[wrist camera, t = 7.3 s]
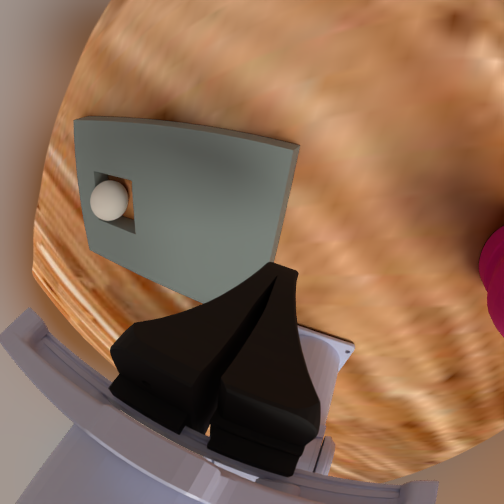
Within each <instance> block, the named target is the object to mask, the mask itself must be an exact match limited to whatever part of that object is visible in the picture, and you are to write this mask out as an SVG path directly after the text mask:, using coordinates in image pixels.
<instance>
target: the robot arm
mask: <svg viewBox="0 0 504 504" xmlns="http://www.w3.org/2000/svg"><path fill="white" fill-rule="evenodd" d="M297 277H298V272H297V271H296V270H293V269H290V268H287V267H285V266H282V265H279V264H276V263H273V262H268V263H266V264H265V265H264V266H263V267H262V268H260V269H259V270H258V271H257V272H256V273H254V274H253V275H252V276H250V277H249V278H247V279H246V280H245V281H243V282H242V283H240V284H239V285H237V286H236V287H234V288H232V289H231V290H229V291H227V292H226V293H224V294H222V295H220V296H219V297H217V298H215V299H213V300H211V301H209V302H206V303H204V304H202V305H199V306H197V307H195V308H192V309H189V310H187V311H184V312H181V313H177V314H174V315H170V316H167V317H163V318H159V319H154V320H148V321H143V322H136V323H134V324H133V325H132V326H130V327H129V328H128V329H127V330H126V331H125V332H124V333H123V334H122V335H121V336H120V337H119V338H118V340H117V341H116V342H115V343H114V344H113V345H112V346H111V348H110V353H111V357H112V359H113V361H114V363H115V366H116V368H117V370H118V372H119V375H118V377H117V378H116V379H115V380H114V381H113V383H112V382H111V381H109V380H108V379H107V378H105V377H104V376H102V375H101V374H100V373H98V372H97V371H96V370H94V369H93V368H92V367H90V366H89V365H88V364H86V363H85V362H84V361H83V360H81V359H80V358H79V357H78V356H76V355H75V354H74V353H73V352H72V351H70V350H69V349H68V348H67V347H66V346H64V345H63V344H62V343H61V342H60V341H59V340H58V339H56V338H55V337H54V336H53V335H52V334H51V333H50V332H49V331H48V328H47V326H46V325H45V323H44V321H43V320H42V319H41V318H40V317H39V316H38V315H37V314H36V313H35V312H34V311H33V310H32V309H31V308H28V309H27V310H25V311H24V312H23V313H22V314H21V315H20V316H19V317H18V318H17V319H16V320H15V321H14V322H13V323H11V324H10V325H9V326H8V327H7V328H6V329H5V330H4V331H3V332H2V333H1V334H0V343H1V344H2V346H3V347H4V348H5V350H6V351H7V352H8V354H9V355H10V356H11V357H12V359H13V360H14V361H15V363H16V364H17V365H18V366H19V367H20V369H21V370H22V371H23V372H24V373H25V375H26V376H27V377H28V378H29V379H30V380H31V381H32V382H33V384H34V385H35V386H36V387H37V388H38V389H39V390H40V391H41V392H42V393H43V394H44V395H45V396H46V397H47V398H48V399H49V400H50V401H51V402H52V403H53V404H54V405H55V406H56V407H57V408H58V409H59V410H60V411H61V412H62V413H63V414H64V415H66V416H67V417H68V418H69V419H70V420H71V421H72V422H74V425H73V426H72V428H71V429H70V430H69V431H68V432H67V434H66V435H65V436H64V438H63V439H62V440H61V442H60V443H59V445H58V446H57V447H56V448H55V450H54V451H53V452H52V453H51V455H50V456H49V458H48V459H47V460H46V462H45V463H44V464H43V466H42V467H41V468H40V470H39V471H38V472H37V474H36V475H35V477H34V478H33V479H32V481H31V482H30V484H29V485H28V486H27V488H26V489H25V491H24V492H23V494H22V495H21V496H20V498H19V499H18V500H17V502H16V503H15V504H435V502H436V497H437V490H438V483H439V482H438V481H421V480H420V481H411V482H407V483H405V484H403V485H392V484H380V483H370V482H362V481H355V480H349V479H343V478H337V477H332V476H327V475H328V473H329V470H330V466H331V463H332V459H333V455H334V451H335V443H334V442H333V440H332V437H329V436H325V438H324V440H323V436H324V433H325V429H326V425H325V423H326V419H327V416H328V412H329V408H330V404H331V400H332V396H333V391H334V387H335V383H336V378H337V373H338V372H339V370H340V369H341V368H342V366H343V365H344V364H345V362H346V361H347V359H348V358H349V357H350V355H351V354H352V352H353V351H354V349H355V345H354V344H352V343H349V342H346V341H343V340H340V339H337V338H334V337H331V336H328V335H325V334H322V333H319V332H316V331H313V330H310V329H307V328H304V327H301V326H298V325H297V316H296V282H297ZM347 350H349V351H347ZM118 408H119V409H118ZM120 410H122V411H123V412H125V413H126V414H128V415H129V416H131V417H132V418H134V419H135V420H137V421H139V422H140V423H142V424H144V425H145V426H147V427H149V428H150V429H152V430H154V431H155V432H157V433H159V434H161V435H162V436H164V437H166V438H168V439H170V440H172V441H174V442H175V443H177V444H179V445H181V446H183V447H185V448H188V449H190V450H191V451H194V452H196V453H198V454H200V455H202V456H203V457H201V456H199V455H197V454H195V453H193V452H191V451H189V450H187V449H185V448H183V447H181V446H179V445H177V444H175V443H174V442H172V441H170V440H168V439H166V438H164V437H162V436H161V435H159V434H157V433H155V432H154V431H152V430H150V429H149V428H147V427H145V426H143V425H142V424H140V423H139V422H137V421H135V420H134V419H132V418H131V417H129V416H128V415H126V414H124V413H123V412H122V411H120ZM209 425H210V436H209V437H208V436H206V435H205V433H206V431H207V429H208V427H209ZM322 440H323V443H322ZM321 444H322V446H321ZM320 447H321V448H320Z"/></svg>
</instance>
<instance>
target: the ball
mask: <svg viewBox="0 0 504 504" xmlns="http://www.w3.org/2000/svg"><path fill="white" fill-rule="evenodd" d="M90 205H91V209H92V211H93V213H94V214H95V215H96V216H97V217H98V218H100V219H102V220H105V221H111V220H115V219H117V218H119V217H120V216H121V215H122V214H123V213H124V212H125V210H126V208H127V206H128V193H127V191H126V189H125V187H124V186H123V185H122V184H120V183H119V182H117V181H113V180H107V181H104V182H101V183H100V184H98V185H97V186H96V187H95V189H94V190H93V192H92V194H91V198H90Z"/></svg>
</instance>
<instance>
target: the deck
mask: <svg viewBox="0 0 504 504" xmlns="http://www.w3.org/2000/svg"><path fill="white" fill-rule="evenodd" d="M74 142H75V157H76V168H77V178H78V186H79V193H80V200H81V207H82V213H83V219H84V224H85V230H86V235H87V239H88V244H89V249H90V250H91V251H93V252H95V253H97V254H99V255H101V256H103V257H105V258H107V259H109V260H110V261H112V262H114V263H116V264H118V265H120V266H122V267H124V268H127V269H129V270H131V271H133V272H135V273H137V274H139V275H141V276H143V277H145V278H147V279H149V280H152V281H154V282H156V283H158V284H160V285H162V286H165V287H167V288H169V289H171V290H173V291H176V292H178V293H180V294H182V295H185V296H187V297H189V298H192V299H194V300H196V301H198V302H201V303H203V304H204V303H206V302H209V301H211V300H213V299H215V298H217V297H219V296H220V295H222V294H224V293H226V292H227V291H229V290H231V289H232V288H234V287H236V286H237V285H239V284H240V283H242V282H243V281H245V280H246V279H247V278H249V277H250V276H252V275H253V274H254V273H256V272H257V271H258V270H259V269H260V268H262V267H263V266H264V265H265V264H266V263H268V262H273V263H274V259H275V255H276V251H277V247H278V242H279V238H280V234H281V229H282V225H283V221H284V216H285V212H286V207H287V203H288V199H289V194H290V190H291V185H292V180H293V176H294V171H295V167H296V162H297V157H298V153H299V148H300V145H296V144H292V143H288V142H284V141H280V140H276V139H272V138H267V137H263V136H258V135H253V134H248V133H243V132H238V131H233V130H227V129H222V128H216V127H210V126H203V125H196V124H189V123H181V122H173V121H164V120H154V119H142V118H127V117H105V116H87V117H83V118H79V119H76V120H74ZM108 175H112V176H116V177H120V178H124V179H128V180H131V181H132V192H133V208H134V220H132V219H129V218H126V217H124V216H120V217H119V218H117V219H115V220H111V221H105V220H102V219H100V218H98V217H97V216H96V215H95V214H94V213H93V211H92V209H91V205H90V198H91V194H92V192H93V190H94V189H95V187H96V186H97V185H98V184H100V183H101V182H104V181H107V180H109V178H108Z"/></svg>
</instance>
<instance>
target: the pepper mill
mask: <svg viewBox="0 0 504 504" xmlns="http://www.w3.org/2000/svg"><path fill="white" fill-rule="evenodd" d="M479 274H480V277H481V280H482V282H483V284H484V286H485V289H486V291H487V292H488V294H487V306H488V311H489V314H490V316H491V319H492V321H493V323H494V325H495V327H496V328H497V330H498V331H499V332H500V334H501V335H502V336H503V337H504V226H503V227H501V228H499V229H498V230H497V231H495V232H494V233H493V234H492V236H491V237H490V238H489V239H488V240H487V242H486V244H485V246H484V248H483V249H482V252H481V256H480V260H479Z"/></svg>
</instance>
